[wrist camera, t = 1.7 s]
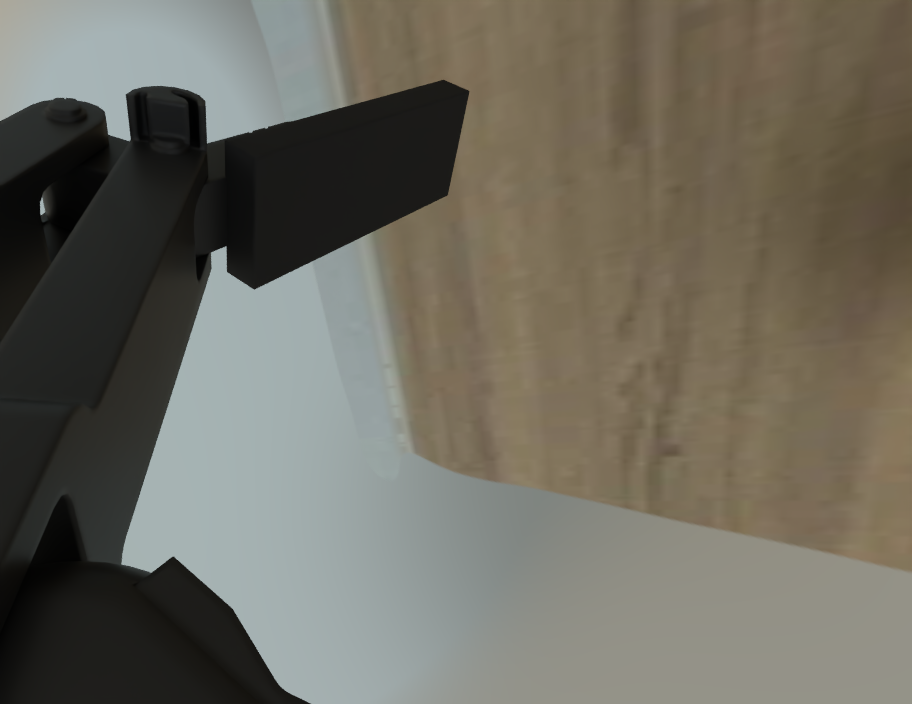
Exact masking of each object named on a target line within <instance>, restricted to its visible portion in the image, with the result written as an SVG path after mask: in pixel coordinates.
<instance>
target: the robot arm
mask: <svg viewBox="0 0 912 704" xmlns="http://www.w3.org/2000/svg"><path fill="white" fill-rule="evenodd" d="M468 96H469V91H468V90H466V89H463V88H461V87H459V86H457V85H454V84H452V83H450V82H448V81H445V80H441V81H438V82H434V83H430V84H427V85H423V86H419V87H416V88H412V89H408V90H405V91H401V92H398V93H394V94H390V95H387V96H383V97H379V98H376V99H372V100H369V101H365V102H361V103H358V104H354V105H350V106H347V107H343V108H339V109H336V110H332V111H329V112H325V113H321V114H318V115H314V116H310V117H307V118H303V119H300V120H296V121H291V122H284V123H281V124H277V125H274V126H270V127H268V128H267V129H265V128H263V129H259V130H255V131H253V132H252V133H249V132H248V133H244V134H241V135H237V136H233V137H230V138H226V139H223V140H219V141H215V142H211V143H208V144H207V133H206V106H205V100H203V98H201V97H200V96H199V95H197V94H195V93H193V92H190V91H188V90H183V89H179V88H175V87H165V86H151V87H142V88H138V89H134V90H132V91H131V92H129V93H128V94H126V100H127V109H128V118H129V126H130V136H131V140H130V142H129V141H126V140H123V139H120V138H116V137H113V136H110V135H108V131H107V123H106V116H105V112H104V111H103V110H102V109H101V108H99V107H98V106H95V105H93V104H90V103H87V102H82V101H77V100H76V99H72V98H66V99H64V98H55V99H54V100H49V101H42V102H39V103H36V104H33V105H31V106H29V107H27V108H25V109H23V110H21V111H19V112H17V113H15V114H13V115H11V116H10V117H8V118H6V119H4V120H2V121H0V704H310V703H308V702H306V701H304V700H302V699H300V698H298V697H296V696H293V695H291V694H290V693H288V692H286V691H285V690H284V689H282V688H281V687H280V686H279V685H278V683H277V682H276V680H275V679H274V677H273V675H272V674H271V672H270V671H269V669H268V667H267V665H266V664H265V662H264V661H263V659H262V657H261V655H260V654H259V652H258V650H257V649H256V647H255V645H254V644H253V642H252V640H251V639H250V637H249V636H248V634H247V632H246V630H245V629H244V627H243V625H242V624H241V622H240V621H239V619H238V617H237V615H236V614H235V612H234V610H233V609H232V608H231V607H230V606H229V605H228V604H226V603H225V602H224V601H223V600H222V599H221V598H220V597H219V596H217V595H216V594H215V593H214V592H213V591H212V590H211V589H210V588H208V587H207V586H206V585H205V584H204V583H203V582H202V581H200V580H199V579H198V578H197V577H196V576H195V575H194V574H193V573H191V572H190V571H189V570H188V569H187V568H186V567H185V566H184V565H182V564H181V563H180V562H179V561H178V560H177V559H176V558H175V557H172V558H170V559H169V560H168V561H166V562H165V563H164V564H163V565H161V566H160V567H159V568H157V569H156V570H155V571H153V572H152V573H150V572H147V571H144V570H140V569H137V568H134V567H130V566H126V565H121V562H122V553H123V547H124V543H125V539H126V535H127V532H128V529H129V526H130V522H131V519H132V516H133V513H134V510H135V507H136V504H137V501H138V498H139V495H140V491H141V488H142V485H143V482H144V479H145V475H146V472H147V469H148V466H149V463H150V460H151V457H152V453H153V451H154V447H155V444H156V441H157V438H158V435H159V432H160V428H161V425H162V422H163V419H164V416H165V413H166V410H167V407H168V403H169V400H170V397H171V394H172V390H173V388H174V385H175V381H176V378H177V375H178V372H179V369H180V366H181V362H182V359H183V356H184V353H185V350H186V347H187V343H188V341H189V337H190V334H191V331H192V328H193V325H194V321H195V318H196V315H197V312H198V309H199V306H200V303H201V300H202V296H203V293H204V290H205V287H206V284H207V281H208V277H209V275H210V272H211V252H213V251H215V250H218V249H220V248H223V247H225V246H227V272H228V273H230V274H231V275H233V276H234V277H236V278H237V279H239V280H240V281H242V282H244V283H245V284H247V285H248V286H250V287H251V288H253V289H256V288H258V287H260V286H262V285H264V284H267V283H269V282H271V281H273V280H275V279H277V278H279V277H281V276H283V275H285V274H287V273H289V272H291V271H293V270H295V269H297V268H299V267H301V266H303V265H305V264H308V263H310V262H312V261H314V260H316V259H318V258H320V257H322V256H324V255H326V254H328V253H330V252H332V251H334V250H336V249H338V248H340V247H342V246H344V245H347V244H349V243H351V242H353V241H355V240H357V239H359V238H361V237H363V236H365V235H367V234H369V233H371V232H373V231H375V230H377V229H379V228H381V227H383V226H386V225H388V224H390V223H392V222H394V221H396V220H398V219H400V218H402V217H404V216H406V215H408V214H410V213H412V212H414V211H416V210H418V209H420V208H422V207H424V206H427V205H429V204H431V203H433V202H435V201H437V200H439V199H441V198H443V197H445V196H447V195H448V191H449V186H450V182H451V177H452V172H453V167H454V162H455V158H456V153H457V148H458V143H459V139H460V134H461V129H462V124H463V119H464V115H465V110H466V105H467V100H468ZM41 198H43V203H44V207H45V213H44V214H43V215H40V201H41Z"/></svg>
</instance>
